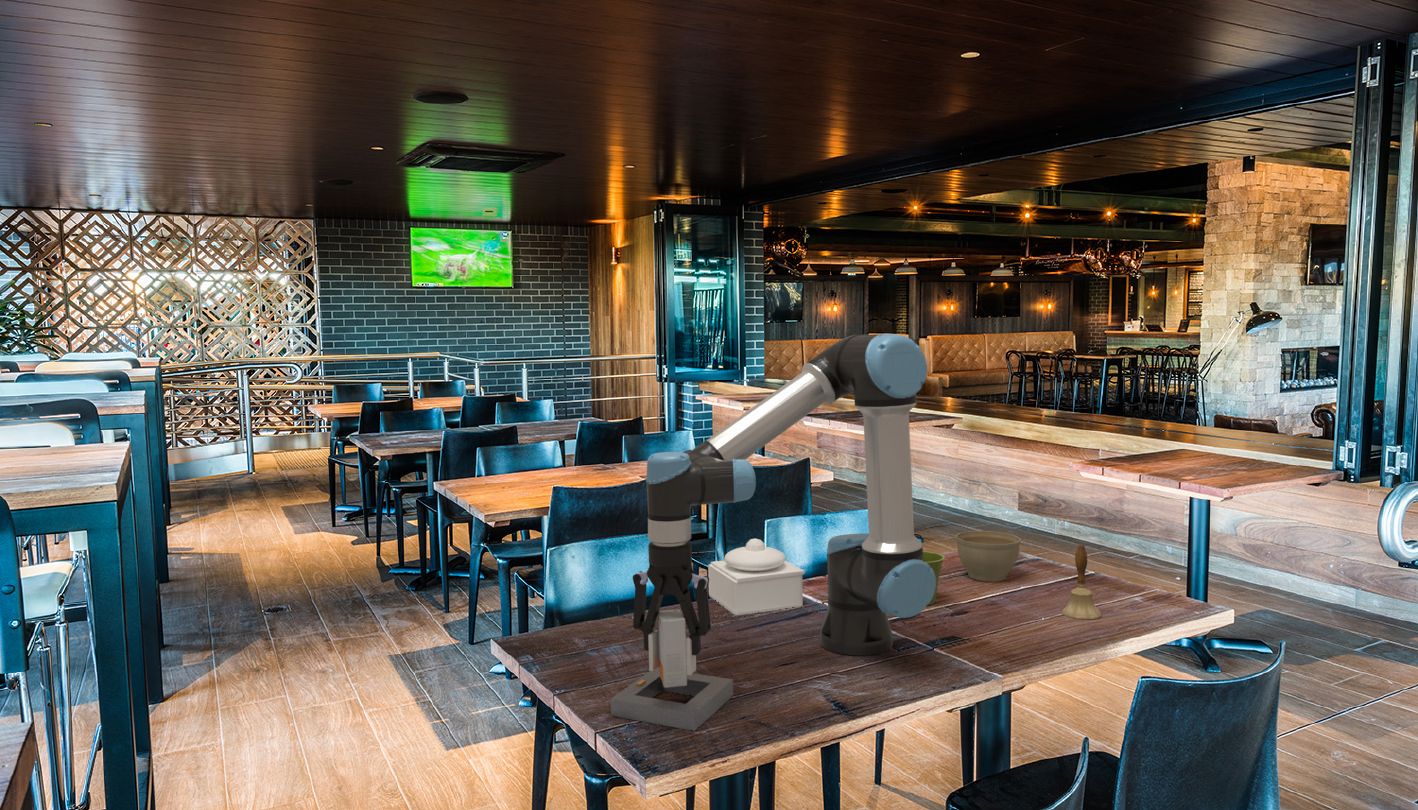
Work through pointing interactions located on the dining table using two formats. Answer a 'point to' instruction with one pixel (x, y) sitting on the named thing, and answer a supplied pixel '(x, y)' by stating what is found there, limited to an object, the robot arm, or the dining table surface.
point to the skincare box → (672, 648)
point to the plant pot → (933, 567)
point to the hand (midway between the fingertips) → (672, 669)
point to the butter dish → (755, 580)
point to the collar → (689, 716)
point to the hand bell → (1081, 592)
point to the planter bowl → (987, 554)
